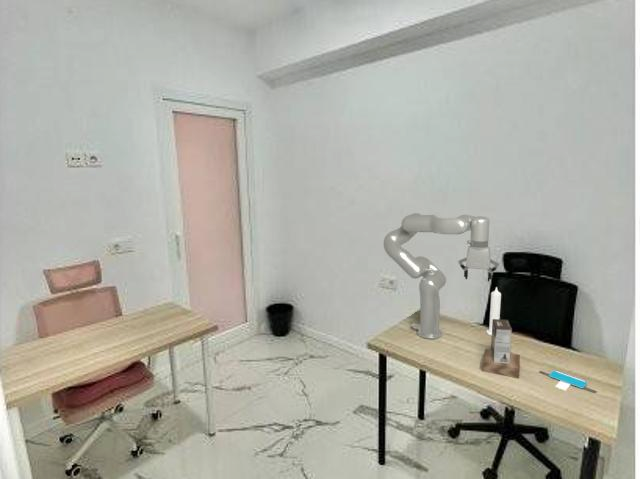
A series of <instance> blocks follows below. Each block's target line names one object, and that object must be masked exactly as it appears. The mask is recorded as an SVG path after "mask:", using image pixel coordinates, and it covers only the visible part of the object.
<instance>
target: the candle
mask: <svg viewBox="0 0 640 479" xmlns="http://www.w3.org/2000/svg"><path fill="white" fill-rule="evenodd" d="M501 299H502V293H501V292H500V291H499V290H498V286H496V287H495V289H494V290H493V291H491V293H490V305H489V306H490V308H489V323H488V324H489V325H488V326H489V327H488V328H489V329H486V330H485V332H486V334H487V335H488V336H490V337H492V322H493V319H501V316H500V315H501V301H502V300H501Z"/></svg>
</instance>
